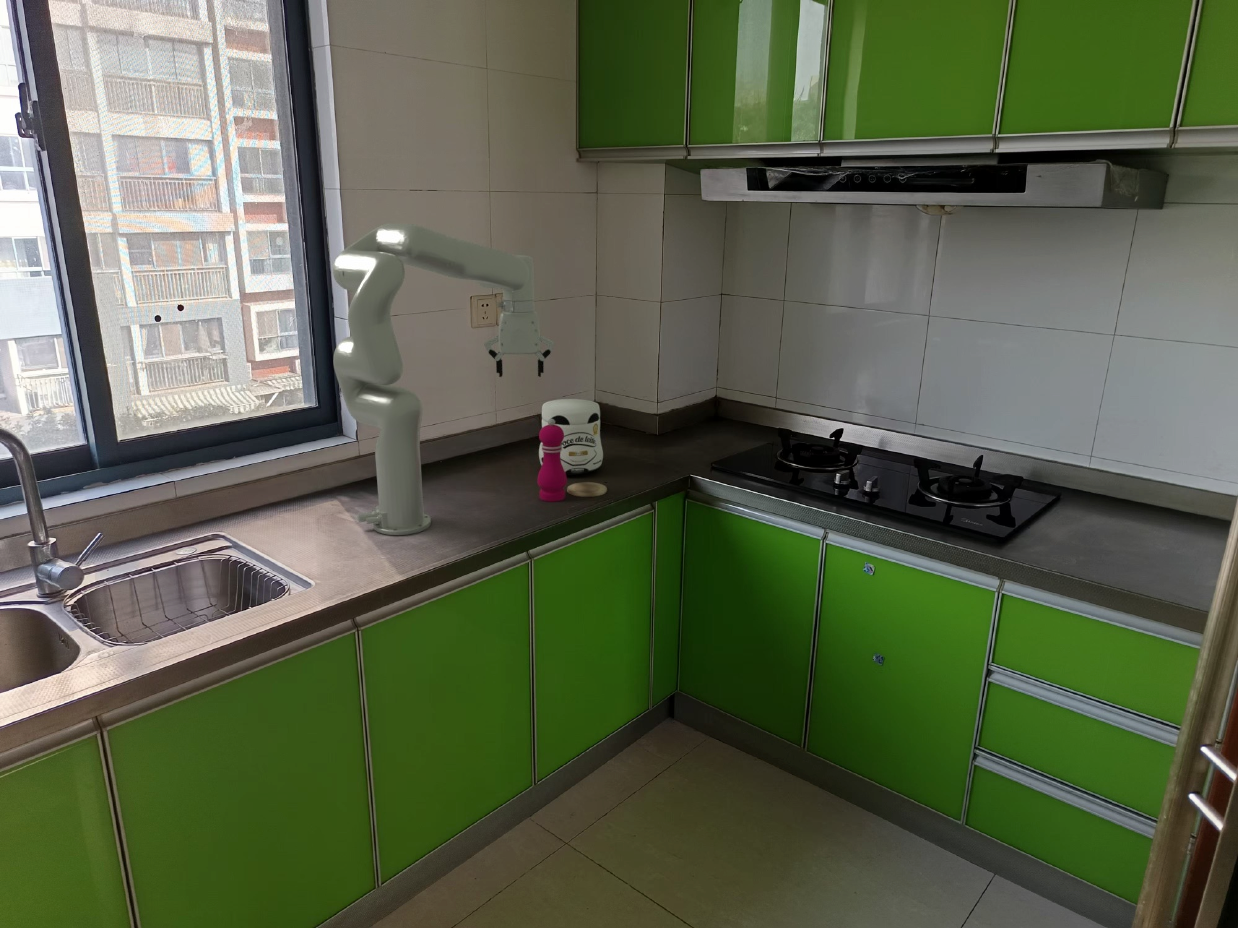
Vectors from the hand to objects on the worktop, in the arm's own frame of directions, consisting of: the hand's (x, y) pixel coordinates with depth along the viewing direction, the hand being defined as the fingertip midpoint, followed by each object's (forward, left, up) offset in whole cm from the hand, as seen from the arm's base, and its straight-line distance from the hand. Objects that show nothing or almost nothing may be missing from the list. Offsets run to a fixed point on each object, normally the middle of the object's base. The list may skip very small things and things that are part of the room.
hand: (520, 375), depth 222 cm
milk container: (+16, +4, -28) cm, 33 cm away
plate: (+12, -14, -28) cm, 33 cm away
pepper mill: (+2, -15, -28) cm, 32 cm away
